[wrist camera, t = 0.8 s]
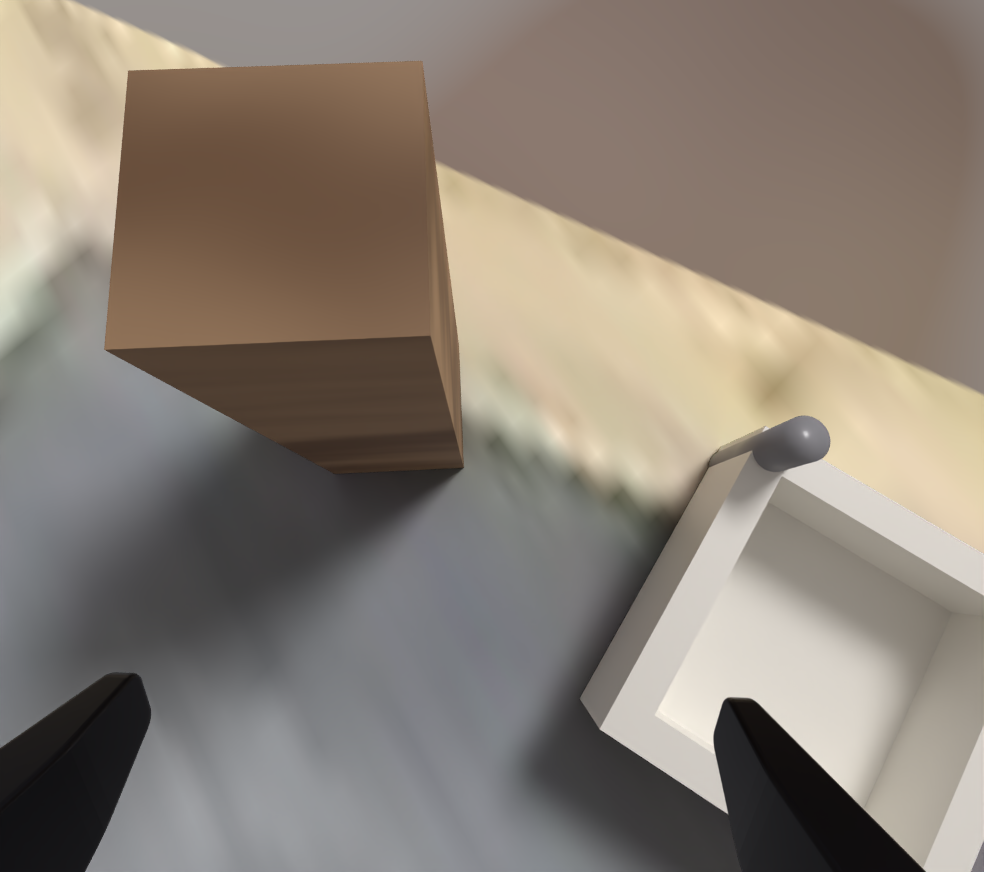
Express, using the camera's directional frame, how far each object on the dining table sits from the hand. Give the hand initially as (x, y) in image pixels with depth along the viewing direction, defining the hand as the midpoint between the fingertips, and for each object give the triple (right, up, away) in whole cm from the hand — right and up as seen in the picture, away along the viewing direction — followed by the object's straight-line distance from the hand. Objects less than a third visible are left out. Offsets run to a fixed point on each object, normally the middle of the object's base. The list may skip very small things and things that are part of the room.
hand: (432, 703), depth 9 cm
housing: (+12, -4, +13) cm, 17 cm away
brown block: (-3, +5, +14) cm, 15 cm away
